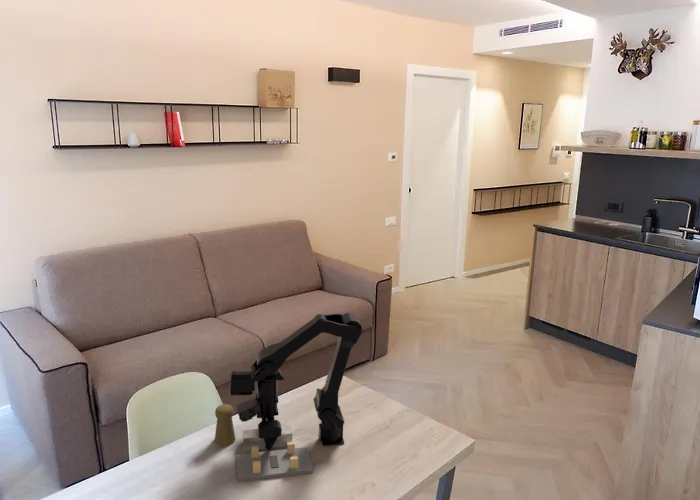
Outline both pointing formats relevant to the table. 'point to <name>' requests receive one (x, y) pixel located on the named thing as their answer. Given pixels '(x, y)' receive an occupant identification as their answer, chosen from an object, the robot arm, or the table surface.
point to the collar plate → (273, 463)
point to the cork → (224, 425)
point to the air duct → (253, 439)
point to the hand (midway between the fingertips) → (267, 440)
